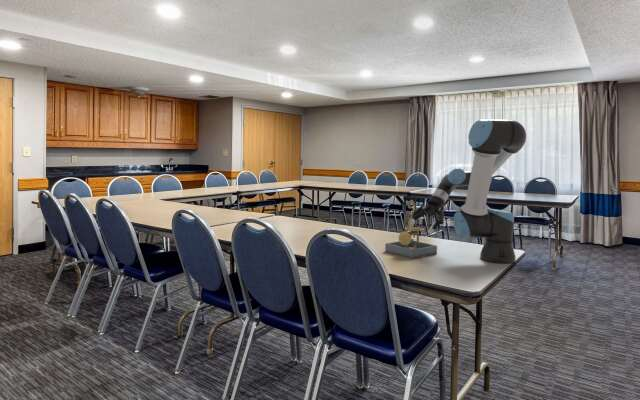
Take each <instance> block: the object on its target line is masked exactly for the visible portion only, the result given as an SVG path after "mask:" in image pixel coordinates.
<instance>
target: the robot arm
mask: <svg viewBox="0 0 640 400" xmlns="http://www.w3.org/2000/svg"><path fill="white" fill-rule="evenodd" d="M526 141H527V132H526V129H525V127H524V125H522V123H520V122H519V121H517V120H515V119H513V120H512V119H492V118H491V119H490V118H485V119H478V120H476V121H475V122H474V123H473V124H472V125H471V128H470V129H469V132H468V144H469V146H470V147H471V151H472V152H473V154H474V156H473V161H472V167H471V170H464V169H462V168H460V167H456V168H453V169H452V170H451V171H450V172H448V174H445V175H444V176H443V177H442V179H441V180H440V183H439V184H438V186H437V187H436V189H435V190H434V192H433V193H432V195H431V197H430V198H429V199H428V201H427V205H424V204H423V203H422V204H421V205H420V206H419V207H418V208H417V209H415V211H414V214H413V217H412V219H411V222H410V225H409V227H414V225H415V223H416V221H418V220H419V219H420V218H422V217H424V216H427V215H431V216H433V218H434V221H433V223H432V224H431V226H430V227H429V228H428V230H427V234H428V236H432V235H433V233H434V232H435V231H436V230H437V229H438V227H439V226H440V225H441V226H443V225H444V219H445V212H446V209H445V207H444V206H445V203H446V202H447V201H448V199H449V197H450V196H451V194H452V192H453V191H454V190H455V189H456V188H457V187H468V188H467V193H466V198H465V203H464V204H462V205H461V207H460V210H459V211H457V212H455V213H454V215H453V227H454V231H455V232H456V235H457V236H459V238H466V239H470V238H474V239H476V238H478V239H479V238H480V239H481V238H484V241H485V242H484V244H483V246H482V248H481V252H480V253H479V254H480V256H479V258H480V259H481V260H483V261H486V262H491V263H494V264H495V263H497V264H511V263H512V264H513V263H515V262H516V257H517V256H516V253H515V250H514V246H513V239H514V238H513V237H514V236H513V235H514V224H515V218H514V216H515V215H514V213H513V212H510V211H505V210H501V209H495V208H486V204H487V201H488V195H489V190H490V185H491V184H492V181H493V175H494V174H495V173H496V172H497V171H498V170H499V168H501V167H502V166H503V165H504V164H505V163H506V162H507V161H508V159H510V157H511V156H513V155H514V154H517V153H518V152H519V151H521V150H522V148H523V147H524V145H525V144H526ZM438 213H439V214H438ZM408 217H409V218H410V217H411V214H409V215H408ZM409 232H410V233H411V231H409V230H408V233H409Z"/></svg>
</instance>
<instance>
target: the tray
mask: <svg viewBox="0 0 640 400" xmlns="http://www.w3.org/2000/svg"><path fill="white" fill-rule="evenodd" d="M416 242H417V240H413V241H411V242H410V244H409V245H408V247H409V248H410V249H408V248H407V247H406V245H402V244H401V243H400V241H399V240H398V241H393V242H386V243H385V248H384V249H385V252H386V253H390V254H394V255H398V256H401V257H406V258H409V259H416V258H423V257H426V256H432V255H436V254H437V251H438V245H436V244H432V243H427V242H422V241H418V245H417V247H416V248H415V249H413V250H412V249H411V248H413V247H414V246H415V245H416Z"/></svg>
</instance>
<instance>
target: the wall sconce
mask: <svg viewBox="0 0 640 400" xmlns="http://www.w3.org/2000/svg"><path fill="white" fill-rule="evenodd" d="M411 203H412V205H411ZM407 208H408V209H412V212H411V213H410V215H411V217H409V219H408V222H407V225H406V227H404V230H405V231H401V232H400V233H399V234H398V241H400V243H401V244H402V245H406V247H407V248H408V249H410V248H409V247H408V245H409V244H410V242H411V241H413V240H414V238H415V237H416V241H417V242H416V245H415V246H414V247H413V248H411V249H412V250H413V249H415V248H416V247H417V245H418V242H420V241H419V240H420V235H419V232H423V231H425V228H423V227H418V226H413V227H409V225H410V222H411V219H412V217H413V214H414V211H416V203H415V201H414V200H413V199H411V200H409V201H408V203H407ZM408 230H409V231H410V233H409V231H408ZM412 236H413V237H412ZM414 241H415V240H414Z"/></svg>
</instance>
